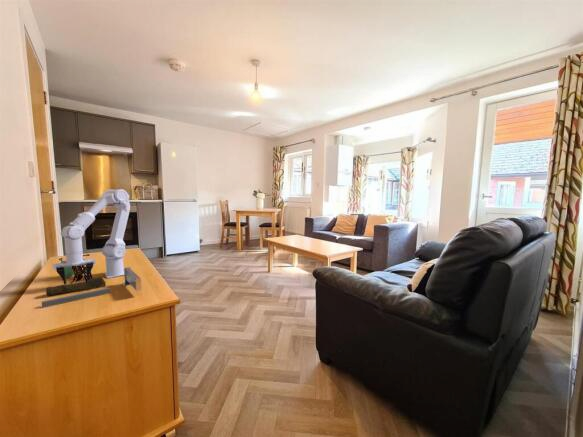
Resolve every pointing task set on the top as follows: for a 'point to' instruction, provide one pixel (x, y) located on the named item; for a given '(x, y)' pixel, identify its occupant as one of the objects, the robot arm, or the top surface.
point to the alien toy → (67, 270)
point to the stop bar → (75, 297)
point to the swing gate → (132, 279)
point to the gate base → (125, 284)
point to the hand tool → (76, 286)
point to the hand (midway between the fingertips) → (76, 281)
